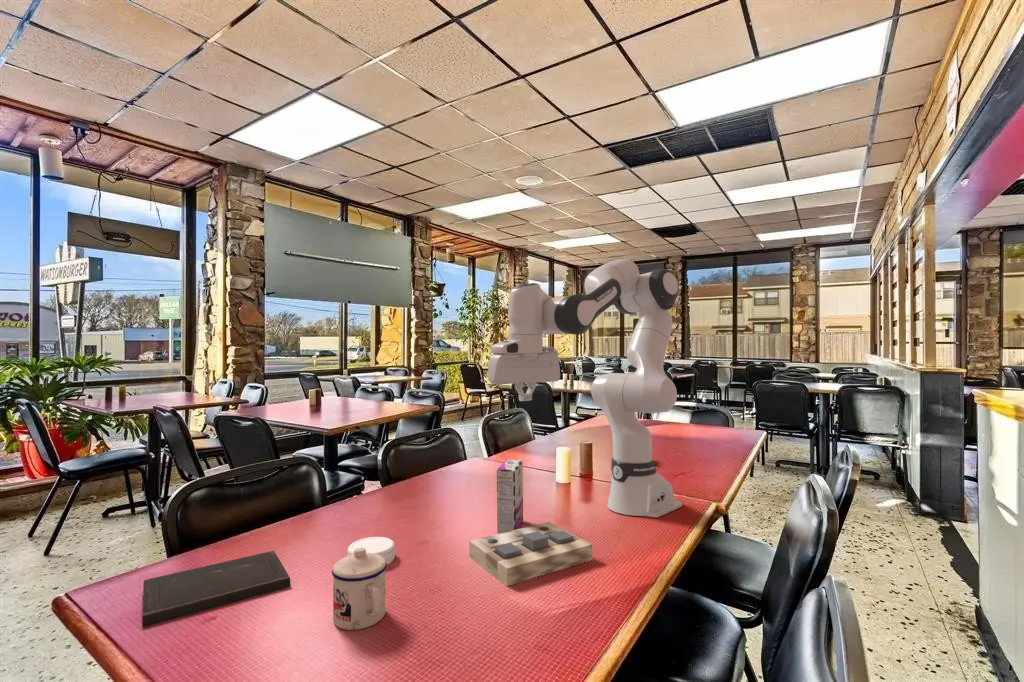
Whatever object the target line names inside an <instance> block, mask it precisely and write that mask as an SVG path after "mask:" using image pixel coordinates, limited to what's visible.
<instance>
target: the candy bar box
mask: <svg viewBox="0 0 1024 682" xmlns="http://www.w3.org/2000/svg"><path fill="white" fill-rule="evenodd" d="M523 467H524V466H523V459H511V458H509V459H507V458H506V459H505V460H504V461H503V462H502V464H500V465H499V467H498V468H497V469H496V498H497V499H496V504H497V506H496V508H497V509H496V510H497V511H496V512H497V515H496V516H497V519H496V520H497V534H500V533H504V532H508V531H513V530H517V529H520V527H521V525H522V523H523V521H524V490H523V489H524V481H523V479H524V478H523V477H524V475H523V474H524V472H523Z"/></svg>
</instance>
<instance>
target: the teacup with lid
mask: <svg viewBox="0 0 1024 682" xmlns="http://www.w3.org/2000/svg"><path fill="white" fill-rule="evenodd" d="M387 566H388V565H387V563H386V561H385V559H384V558H383V557H382V556H380V555H377V554H372V553H368V552H366V550H365V548H357V549H355V550H354V554H352V555H350V556H345V557H343V558H340V559H339V560H338V561H337V562H335V563H334V565H333V567H332V571H331V575H332V577H333V579H332V580H333V582H332V583H333V587H332V588H333V591H332V592H333V593H332V597H333V599H332V608H333V609H332V620H333V623H334V625H335V626H336V627H338V628H339V629H342V630H346V631H358V630H363V629H367V628H370V627H372V626H374V625H376V624H377V623H379V622H380V621H381V620H382V619H383V618H384V616H385V614H386V570H387Z"/></svg>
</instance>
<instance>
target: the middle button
mask: <svg viewBox="0 0 1024 682" xmlns="http://www.w3.org/2000/svg"><path fill="white" fill-rule="evenodd" d="M523 546H524V547H525V548H527V549H529V550H530V551H532V552H535V551H538V550H542V549H546V548H548V537H547V536H545V535H544V534H542V533H540V532H538V531H536V532H532V533H528V534H524V535H523Z"/></svg>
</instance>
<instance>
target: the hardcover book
mask: <svg viewBox="0 0 1024 682" xmlns="http://www.w3.org/2000/svg"><path fill="white" fill-rule="evenodd" d="M288 588H291V577H290V575H289V573H288V572H287V571H286V568H285V567H284V565H283V564H282V562H281V560H280V558H279V557H278V555H277V553H276V552H275V550H270V551H266V552H262V553H257V554H254V555H249V556H244V557H240V558H235V559H231V560H226V561H221V562H218V563H213V564H209V565H205V566H204V565H203V566H201V567H195V568H192V569H186V570H182V571H178V572H173V573H169V574H165V575H160V576H156V577H152V578H151V577H150V578H146V579H144V580H143V591H142V592H143V593H142V595H143V596H142V627H143V628H146V627H149V626H152V625H153V626H154V625H156V624H159V623H163V622H164V623H165V622H167V621H171V620H174V619H178V618H181V617H186V616H190V615H193V614H196V613H199V612H204V611H208V610H211V609H214V608H215V609H216V608H219V607H222V606H225V605H229V604H233V603H237V602H240V601H244V600H247V599H251V598H256V597H259V596H262V595H265V594H266V595H267V594H270V593H273V592H278V591H280V590H284V589H288Z"/></svg>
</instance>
